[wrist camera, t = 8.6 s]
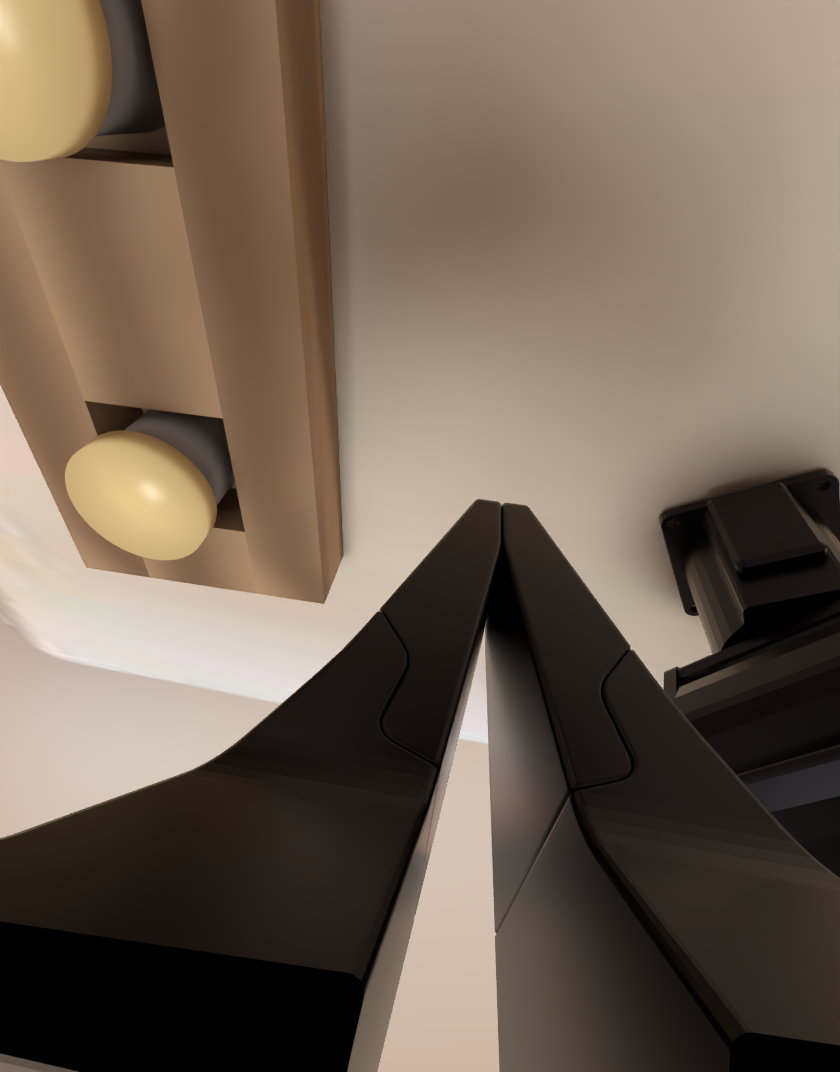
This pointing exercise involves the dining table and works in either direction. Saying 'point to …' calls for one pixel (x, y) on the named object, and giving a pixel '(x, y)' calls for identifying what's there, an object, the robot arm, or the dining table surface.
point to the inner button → (153, 483)
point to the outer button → (73, 76)
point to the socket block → (192, 292)
